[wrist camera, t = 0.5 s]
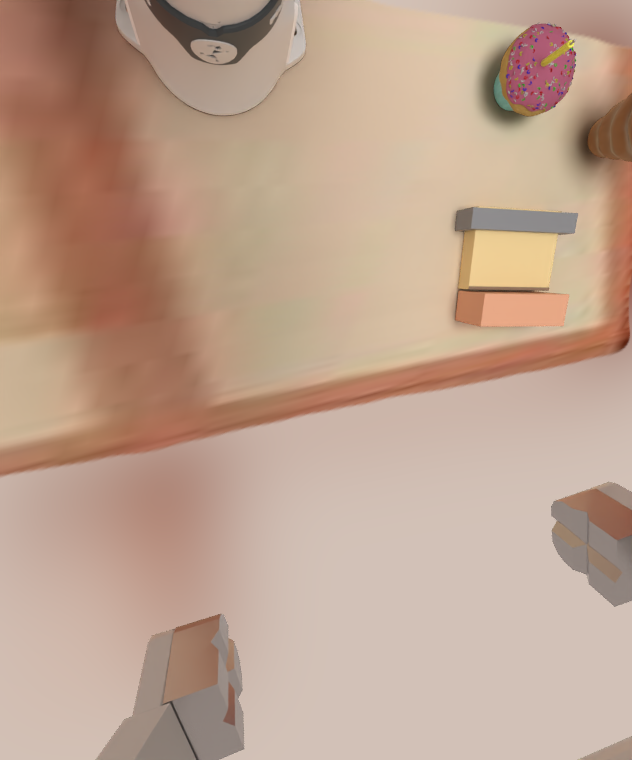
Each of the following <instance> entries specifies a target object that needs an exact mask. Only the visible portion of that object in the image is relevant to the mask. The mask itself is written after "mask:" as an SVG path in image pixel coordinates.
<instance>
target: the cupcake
mask: <svg viewBox="0 0 632 760" xmlns="http://www.w3.org/2000/svg"><path fill="white" fill-rule="evenodd" d="M575 41H576V39H574V40H571V39H569V36H568V35H567V33H566V32H564V31H563V30H562V28H561V27H557V26H556V24H554V25H551V24H550V23H548V24H535V25H532V26H531V27H530V28H528V29H527V30H525V31H524V32H523V33H521V34H520V35H519V36H518V37H517V38H516V39H515V40H514V41H513V42H512V43H511V45H510V46H509V48H508V49H507V51H506V52H505V54H504V56H503V59H502V62H501V69H500V72H499V74H498V75H497V77H496V80H495V83H494V96H495V100H496V102H497V103H498V105H499V106H500V107H501V108H503V109H504V110H508V111H513V110H514V111H515V112H516V113H519V114H522V115H524V116H535V115H538V114H541V113H543V112H546V111H548V110H550V109H552V108H553V107H555V105H556V104H557V103H558V102H559V101H560V100H561V99H562V98H563V97H564V96H565V94H566V93H567V92H568V90H569V86H570V85H571V83H572V82H571V81H572V79H573V74H574V72H575V69H574V68H575V67H574V66H576V64H575V61H576V59H575V56H576V52H574V50H573V45H574V42H575Z"/></svg>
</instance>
